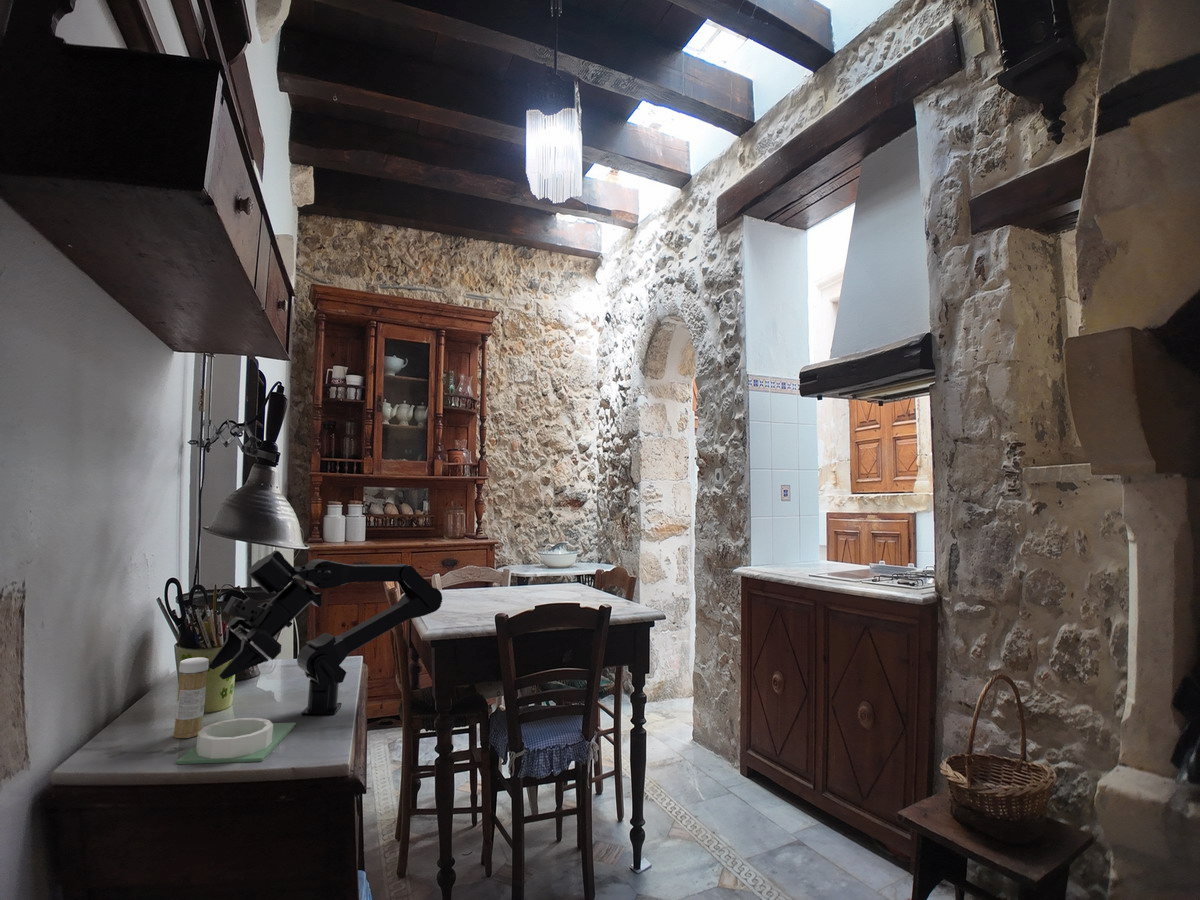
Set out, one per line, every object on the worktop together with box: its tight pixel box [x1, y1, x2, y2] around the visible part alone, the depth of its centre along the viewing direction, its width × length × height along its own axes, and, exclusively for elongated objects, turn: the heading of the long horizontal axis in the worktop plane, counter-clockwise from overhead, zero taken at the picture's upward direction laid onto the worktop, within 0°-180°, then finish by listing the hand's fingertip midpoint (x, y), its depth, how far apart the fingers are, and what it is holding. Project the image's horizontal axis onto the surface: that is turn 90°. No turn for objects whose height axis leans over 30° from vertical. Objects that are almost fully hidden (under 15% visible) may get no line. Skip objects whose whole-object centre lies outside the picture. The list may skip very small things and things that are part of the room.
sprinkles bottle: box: [172, 657, 210, 739], centre depth 115 cm, size 5×5×14 cm
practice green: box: [175, 717, 297, 765], centre depth 112 cm, size 18×13×4 cm
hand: (215, 672), depth 118 cm, fingers open, 9 cm apart
